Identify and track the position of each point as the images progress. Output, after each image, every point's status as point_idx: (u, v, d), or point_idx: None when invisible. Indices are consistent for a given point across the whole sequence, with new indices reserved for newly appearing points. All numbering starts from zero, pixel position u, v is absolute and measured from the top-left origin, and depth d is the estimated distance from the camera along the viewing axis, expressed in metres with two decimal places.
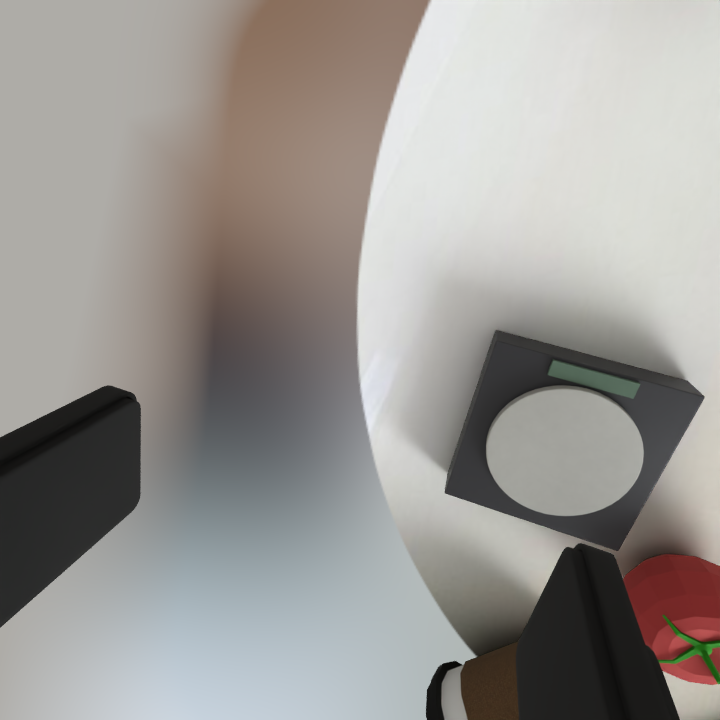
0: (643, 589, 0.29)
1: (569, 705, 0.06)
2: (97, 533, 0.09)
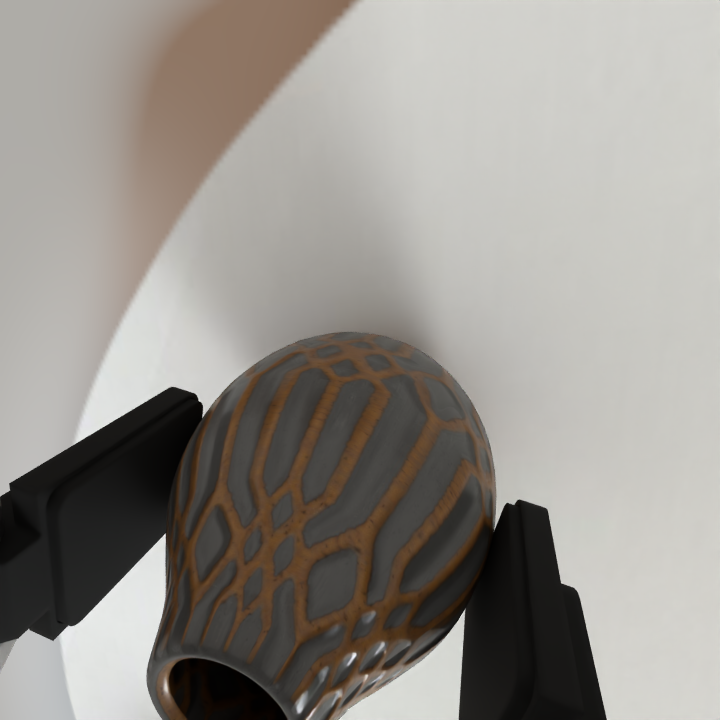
0: None
1: (494, 632, 0.07)
2: (163, 528, 0.10)
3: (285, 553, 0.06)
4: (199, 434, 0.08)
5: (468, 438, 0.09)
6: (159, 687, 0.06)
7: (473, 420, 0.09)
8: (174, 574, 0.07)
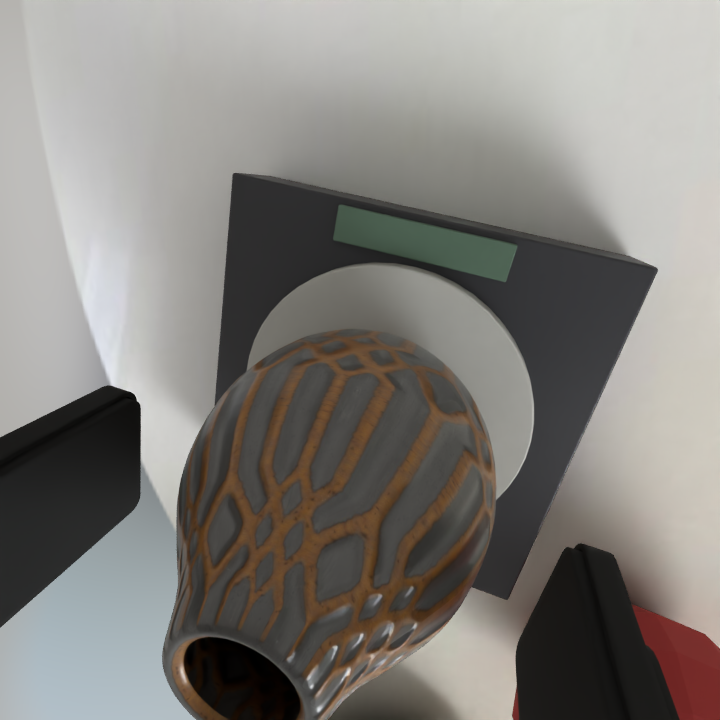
0: None
1: (569, 705, 0.06)
2: (97, 533, 0.09)
3: (295, 539, 0.07)
4: (209, 426, 0.09)
5: (469, 430, 0.09)
6: (174, 666, 0.06)
7: (474, 413, 0.10)
8: (187, 560, 0.07)
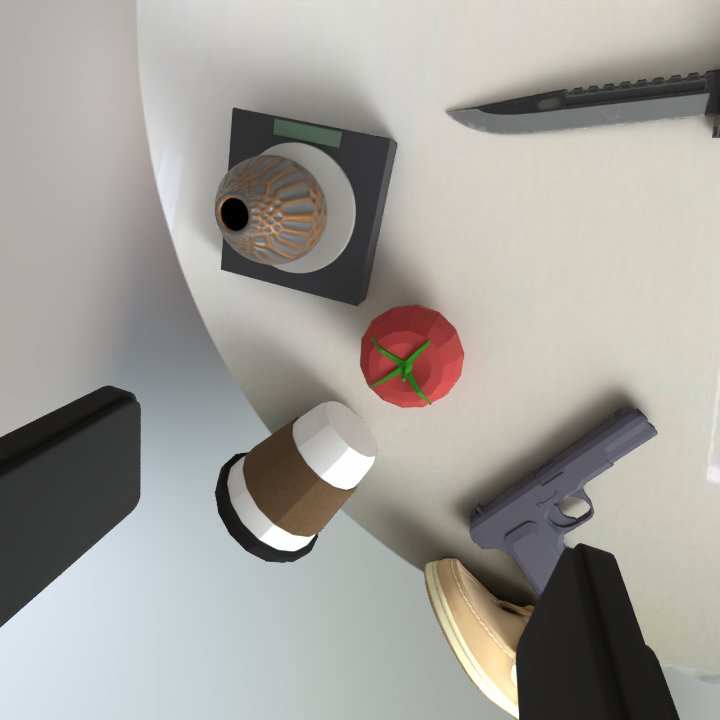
0: (368, 329, 0.34)
1: (569, 705, 0.06)
2: (97, 533, 0.09)
3: (248, 183, 0.26)
4: (225, 175, 0.28)
5: (306, 178, 0.28)
6: (218, 212, 0.25)
7: (313, 179, 0.29)
8: (220, 196, 0.26)
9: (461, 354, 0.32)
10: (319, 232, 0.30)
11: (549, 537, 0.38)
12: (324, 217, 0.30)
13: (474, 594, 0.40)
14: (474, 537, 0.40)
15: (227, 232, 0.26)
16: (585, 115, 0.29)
